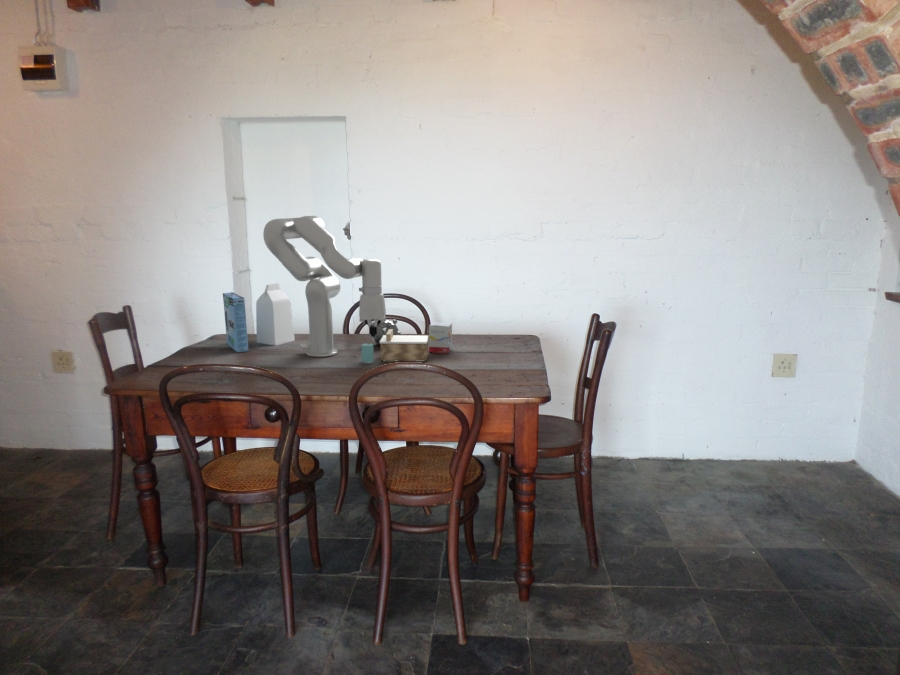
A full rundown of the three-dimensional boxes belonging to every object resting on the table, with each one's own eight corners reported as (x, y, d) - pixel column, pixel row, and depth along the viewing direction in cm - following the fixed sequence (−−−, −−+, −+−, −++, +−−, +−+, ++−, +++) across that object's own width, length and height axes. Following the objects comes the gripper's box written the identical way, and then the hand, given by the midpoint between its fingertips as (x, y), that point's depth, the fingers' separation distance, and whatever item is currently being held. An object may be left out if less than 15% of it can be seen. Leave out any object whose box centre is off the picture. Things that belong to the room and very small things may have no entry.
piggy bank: (396, 349, 270) (395, 322, 268) (363, 346, 274) (363, 320, 272) (404, 343, 281) (404, 318, 278) (373, 341, 285) (373, 316, 282)
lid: (379, 343, 247) (379, 334, 247) (383, 336, 260) (383, 328, 259) (426, 343, 247) (426, 335, 246) (428, 337, 259) (428, 328, 259)
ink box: (448, 353, 262) (448, 325, 260) (428, 352, 264) (428, 325, 262) (452, 349, 271) (452, 322, 268) (433, 348, 272) (432, 321, 270)
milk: (275, 345, 276) (272, 286, 271) (256, 342, 282) (253, 284, 277) (294, 340, 287) (291, 283, 281) (276, 337, 292) (273, 281, 287)
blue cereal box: (248, 351, 265) (245, 297, 260) (236, 352, 262) (232, 298, 258) (237, 342, 281) (234, 291, 276) (225, 344, 279) (222, 292, 274)
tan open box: (380, 361, 249) (380, 344, 248) (384, 354, 261) (384, 337, 259) (426, 361, 249) (426, 344, 247) (427, 354, 260) (427, 338, 259)
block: (361, 363, 246) (361, 345, 245) (363, 360, 250) (363, 343, 249) (372, 363, 246) (371, 345, 245) (373, 360, 250) (373, 343, 249)
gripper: (351, 292, 246) (353, 338, 250) (389, 292, 246) (390, 338, 249) (354, 289, 253) (356, 334, 257) (392, 289, 253) (392, 334, 257)
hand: (373, 336), depth 253 cm, fingers closed
